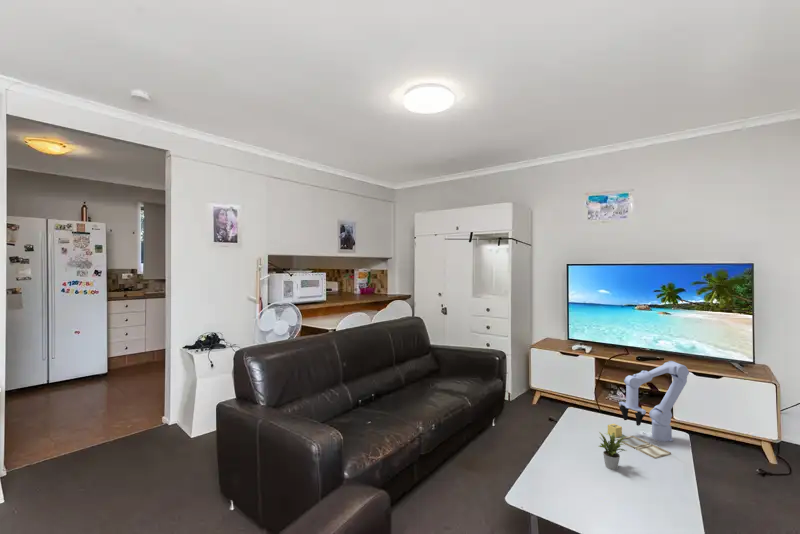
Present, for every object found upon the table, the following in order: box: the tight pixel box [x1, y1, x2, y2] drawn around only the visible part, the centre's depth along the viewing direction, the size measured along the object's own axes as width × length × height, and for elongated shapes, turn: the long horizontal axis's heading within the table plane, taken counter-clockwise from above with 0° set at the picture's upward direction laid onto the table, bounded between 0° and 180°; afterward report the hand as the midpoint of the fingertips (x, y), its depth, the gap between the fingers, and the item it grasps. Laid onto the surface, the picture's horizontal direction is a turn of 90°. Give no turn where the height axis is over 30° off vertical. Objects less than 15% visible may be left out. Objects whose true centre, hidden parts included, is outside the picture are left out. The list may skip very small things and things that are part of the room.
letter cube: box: [607, 423, 623, 437], centre depth 219 cm, size 5×5×5 cm
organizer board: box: [604, 432, 672, 459], centre depth 209 cm, size 13×31×1 cm, turn 22°
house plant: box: [598, 431, 628, 471], centre depth 185 cm, size 14×14×16 cm
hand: (631, 422), depth 215 cm, fingers open, 7 cm apart
